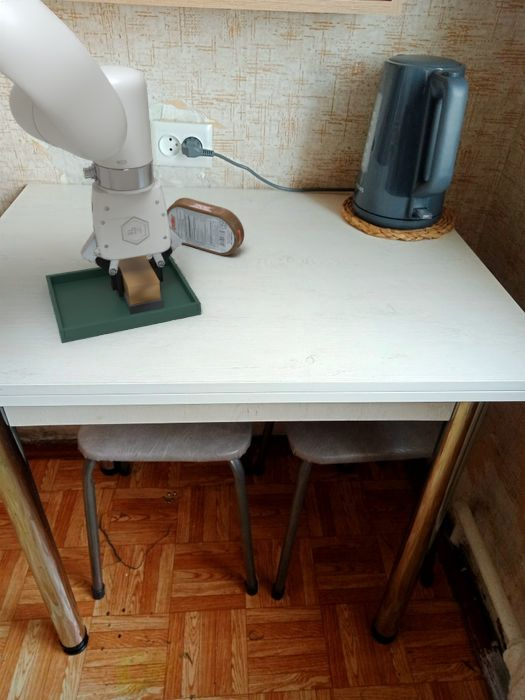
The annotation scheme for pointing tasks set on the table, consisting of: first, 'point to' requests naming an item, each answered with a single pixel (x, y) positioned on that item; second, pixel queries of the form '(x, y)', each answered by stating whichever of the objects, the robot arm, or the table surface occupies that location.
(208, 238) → the tin
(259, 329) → the table surface
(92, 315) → the tray
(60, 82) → the robot arm
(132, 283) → the eraser
